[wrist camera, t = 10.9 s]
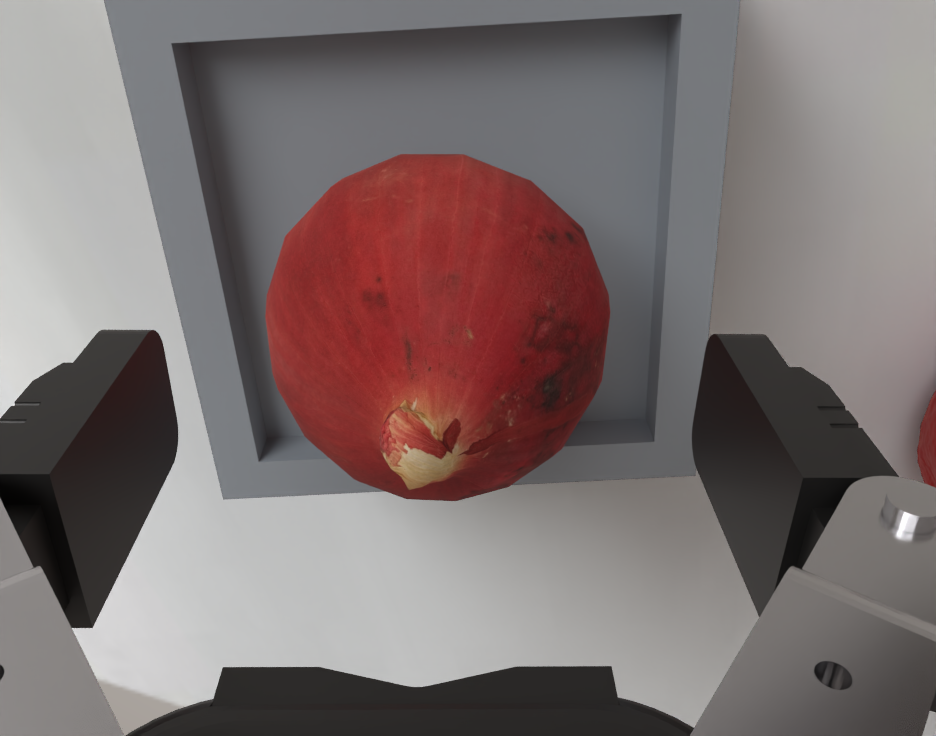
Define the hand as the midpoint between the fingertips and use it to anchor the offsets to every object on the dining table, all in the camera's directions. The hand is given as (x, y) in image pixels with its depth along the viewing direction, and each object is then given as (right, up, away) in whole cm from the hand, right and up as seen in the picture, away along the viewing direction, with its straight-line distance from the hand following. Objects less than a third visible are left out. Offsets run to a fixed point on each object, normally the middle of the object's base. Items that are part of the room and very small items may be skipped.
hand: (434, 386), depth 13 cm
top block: (0, +4, +8) cm, 9 cm away
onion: (0, +3, +6) cm, 6 cm away
